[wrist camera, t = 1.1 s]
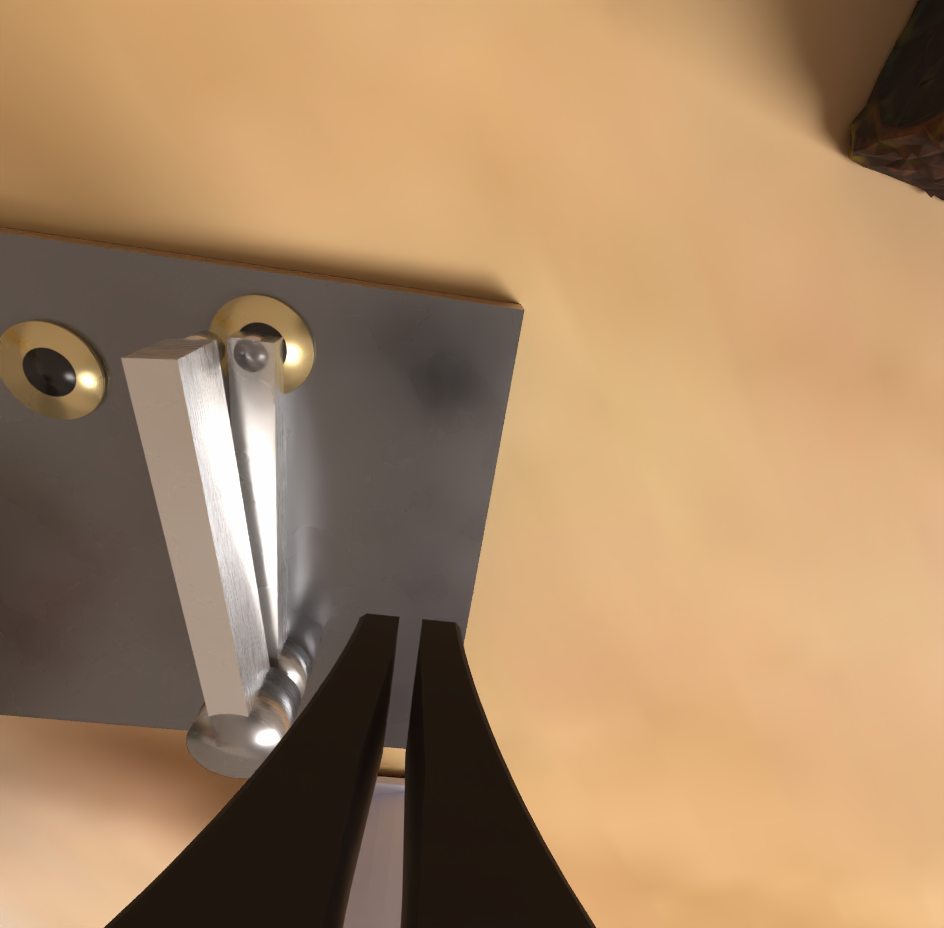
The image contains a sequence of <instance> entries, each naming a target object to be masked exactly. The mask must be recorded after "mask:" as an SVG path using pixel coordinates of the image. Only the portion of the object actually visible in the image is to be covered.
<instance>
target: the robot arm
mask: <svg viewBox="0 0 944 928" xmlns="http://www.w3.org/2000/svg"><path fill="white" fill-rule="evenodd" d="M399 618H400V617H398V616H388V615H378V614H369V613H366V614H365V615H363V616H362V617H360V619H359V621H358V623H357V625H356V628H355V630H354V632H353V633H352V635H351V637H350V639H349V641H348V643H347V645H346V646H345V648H344V650H343V651H342V653H341V655H340V656H339V658H338V660H337V661H336V663H335V664H334V666H333V668H332V669H331V671H330V672H329V674H328V675H327V677H326V678H325V680H324V681H323V683H322V684H321V686H320V687H319V688H318V690H317V691H316V693H315V694H314V696H313V697H312V699H311V700H310V702H309V703H308V704H307V706H306V707H305V709H304V710H303V711H302V713H301V714H300V715H299V717H298V718H297V719H296V721H295V722H294V723H293V724H292V726H291V727H290V728H289V730H288V731H287V732H286V734H285V735H284V736H283V737H282V739H281V740H280V741H279V743H278V744H277V745H276V747H275V748H274V749H273V750H272V752H271V753H270V754H269V755H268V757H267V758H266V759H265V760H264V762H263V763H262V764H261V765H260V766H259V768H258V769H257V770H256V771H255V772H254V774H253V775H252V776H251V777H250V778H249V779H248V781H247V782H246V783H245V784H244V785H243V786H242V788H241V789H240V790H239V791H238V792H237V793H236V794H235V795H234V797H233V798H232V799H231V800H230V801H229V802H228V803H227V804H226V806H225V807H224V808H223V809H222V810H221V811H220V812H219V813H218V814H217V816H216V817H215V818H214V819H213V820H212V821H211V822H210V823H209V824H208V825H207V826H206V827H205V828H204V829H203V830H202V831H201V832H200V833H199V835H198V836H197V837H196V838H195V839H194V840H193V841H192V842H191V843H190V844H189V845H188V846H187V847H186V848H185V849H184V850H183V851H182V852H181V853H180V854H179V856H178V857H177V858H176V859H175V860H174V861H173V862H172V863H171V864H170V865H169V866H168V867H167V868H166V869H165V870H164V871H163V872H162V873H161V874H160V875H159V876H158V877H157V878H156V879H155V880H154V881H153V882H152V883H151V884H150V885H149V886H148V887H147V888H146V889H145V890H144V891H142V892H141V893H140V894H139V895H138V896H137V897H136V898H135V899H134V900H133V901H132V902H131V903H130V904H129V905H128V906H127V907H125V908H124V909H123V910H122V911H121V912H120V913H119V914H118V915H117V916H116V917H115V918H114V919H113V920H112V921H111V922H109V923H108V924H107V925H106V926H105V927H104V928H596V927H595V925H594V924H593V922H592V920H591V919H590V917H589V916H588V914H587V912H586V911H585V909H584V908H583V906H582V904H581V903H580V901H579V900H578V898H577V897H576V895H575V893H574V892H573V890H572V889H571V887H570V885H569V884H568V882H567V880H566V879H565V877H564V875H563V873H562V872H561V870H560V868H559V866H558V865H557V863H556V861H555V859H554V858H553V856H552V854H551V852H550V850H549V849H548V847H547V845H546V843H545V842H544V840H543V838H542V836H541V834H540V832H539V830H538V828H537V827H536V825H535V823H534V821H533V819H532V817H531V815H530V813H529V811H528V809H527V807H526V805H525V803H524V801H523V799H522V797H521V795H520V793H519V791H518V789H517V787H516V785H515V783H514V781H513V779H512V777H511V774H510V772H509V770H508V768H507V765H506V763H505V761H504V759H503V756H502V754H501V752H500V750H499V747H498V745H497V743H496V740H495V738H494V735H493V733H492V731H491V728H490V725H489V723H488V720H487V717H486V715H485V712H484V709H483V707H482V704H481V702H480V699H479V696H478V693H477V690H476V687H475V684H474V681H473V678H472V675H471V672H470V668H469V665H468V661H467V658H466V654H465V650H464V646H463V641H462V636H461V630H460V627H459V626H458V625H457V624H456V623H455V622H447V621H437V620H427V619H422V626H421V634H420V641H419V648H418V656H417V663H416V671H415V678H414V685H413V693H412V701H411V710H410V718H409V727H408V736H407V745H406V754H405V778H395V777H382V776H377V775H378V771H379V767H380V762H381V758H382V754H383V747H384V740H385V734H386V727H387V719H388V712H389V705H390V698H391V690H392V681H393V672H394V663H395V654H396V645H397V636H398V627H399Z"/></svg>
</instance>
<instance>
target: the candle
mask: <svg viewBox="0 0 944 928" xmlns="http://www.w3.org/2000/svg"><path fill="white" fill-rule="evenodd" d="M849 128H850V129H851V140H850V153H849V159H851V160H853V161H854V162H856V163H858V164H860V165H861V166H863V167H866V168H869V169H872V170H875V171H878V172H881V173H883V174H886V175H889V176H891V177H894V178H896V179H898V180H901V181H903V182H906V183H908V184H911V185H914V186H917V187H920V188H923V189H924V190H925V191H926V193H927V194H928V195H929V196H930V197H932V196H934V195H935V196H937V197H938V198H940V199H942V200H944V0H919V1H918V3H917V5H916V8H915V10H914V12H913V14H912V16H911V18H910V21H909V23H908V25H907V27H906V28H905V30H904V31H903V33H902V35H901V36H900V38H899V39H898V41H897V43H896V45H895V47H894V49H893V51H892V53H891V54H890V56H889V58H888V60H887V62H886V64H885V66H884V68H883V70H882V72H881V74H880V76H879V78H878V80H877V83H876V85H875V87H874V90H873V92H872V94H871V97H870V99H869V101H868V104H867V105H866V106H865V108H864V109H863V110H862V111H861V112H860V114H859V115H858V116H857V117H856V119H855V120H854V121H853V123H852V124H851V125H850V127H849Z"/></svg>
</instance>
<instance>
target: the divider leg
mask: <svg viewBox="0 0 944 928" xmlns="http://www.w3.org/2000/svg"><path fill="white" fill-rule="evenodd" d="M225 353H226V348H225V344H224V342H223V340H222V339H221V338H220V337H219V336H218V335H217V334H215V333H213V332H211V331H206V330H205V331H199V332H197V333H195V334H193V335H190V336H188V337H186V338H184V339H180V338H166V339H164V340H162V341H159V342H157V343H155V344H152V345H150V346H148V347H145V348H143V349H141V350H138V351H136V352H134V353H131V354H129V355H127V356H124V357H122V358H121V360H122V364H123V368H124V372H125V376H126V380H127V384H128V388H129V393H130V397H131V401H132V405H133V409H134V413H135V417H136V421H137V425H138V429H139V433H140V438H141V442H142V446H143V450H144V454H145V458H146V462H147V466H148V470H149V474H150V479H151V483H152V487H153V491H154V495H155V499H156V503H157V507H158V511H159V515H160V520H161V524H162V528H163V532H164V536H165V540H166V544H167V548H168V552H169V556H170V560H171V565H172V569H173V573H174V577H175V581H176V585H177V589H178V593H179V597H180V601H181V606H182V610H183V614H184V618H185V622H186V626H187V630H188V634H189V638H190V642H191V647H192V651H193V655H194V659H195V663H196V667H197V671H198V675H199V679H200V683H201V687H202V692H203V696H204V700H205V701H204V703H203V705H202V707H201V709H200V711H199V712H198V714H197V716H196V718H195V720H194V722H193V724H192V726H191V728H190V729H189V732H188V734H187V738H186V744H187V748H188V751H189V752H190V754H191V756H192V757H193V758H194V759H195V760H196V761H197V762H198V763H199V764H200V765H201V766H203V767H205V768H206V769H208V770H210V771H212V772H214V773H217V774H219V775H223V776H227V777H232V778H250V777H251V776H252V775H253V774H254V772H255V771H256V770H257V769H258V768H259V766H260V765H261V764H262V763H263V762H264V760H265V759H266V758H267V757H268V755H269V754H270V753H271V752H272V750H273V749H274V748H275V747H276V745H277V744H278V743H279V741H280V740H281V739H282V737H283V736H284V735H285V734H286V732H287V731H288V730H289V728H290V727H291V726H292V724H293V723H294V722H295V719H296V716H297V713H298V710H299V707H300V703H301V695H300V691H299V689H298V687H297V685H296V684H295V682H294V681H293V680H292V679H291V678H290V677H289V676H287V675H286V674H285V673H283V672H281V671H280V670H278V669H275V668H273V667H270V663H269V657H268V651H267V645H266V639H265V633H264V627H263V621H262V615H261V609H260V603H259V596H258V590H257V584H256V578H255V572H254V566H253V560H252V554H251V548H250V542H249V536H248V530H247V524H246V518H245V511H244V505H243V499H242V493H241V487H240V481H239V475H238V469H237V463H236V457H235V451H234V445H233V439H232V433H231V426H230V420H229V414H228V408H227V402H226V396H225V390H224V384H223V378H222V372H221V366H220V361H222V360H223V358H224V357H225Z"/></svg>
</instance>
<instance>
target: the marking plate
mask: <svg viewBox="0 0 944 928" xmlns="http://www.w3.org/2000/svg"><path fill="white" fill-rule="evenodd" d="M523 314H524V309H523V307H522V305H521V304H516V303H509V302H502V301H496V300H489V299H482V298H476V297H469V296H462V295H455V294H449V293H442V292H435V291H428V290H422V289H415V288H408V287H401V286H395V285H388V284H381V283H374V282H368V281H361V280H354V279H348V278H341V277H334V276H327V275H321V274H314V273H307V272H300V271H294V270H287V269H280V268H273V267H267V266H260V265H253V264H246V263H240V262H233V261H226V260H220V259H213V258H206V257H199V256H193V255H186V254H179V253H172V252H166V251H159V250H152V249H145V248H139V247H132V246H125V245H118V244H112V243H105V242H98V241H92V240H85V239H78V238H71V237H65V236H58V235H51V234H44V233H38V232H31V231H24V230H17V229H11V228H4V227H0V715H10V716H22V717H34V718H46V719H58V720H70V721H82V722H94V723H106V724H117V725H129V726H141V727H153V728H165V729H177V730H189V729H190V728H191V726H192V724H193V722H194V720H195V718H196V716H197V714H198V712H199V711H200V709H201V707H202V705H203V703H204V701H205V700H204V696H203V692H202V687H201V683H200V679H199V675H198V671H197V667H196V663H195V659H194V655H193V651H192V647H191V642H190V638H189V634H188V630H187V626H186V622H185V618H184V614H183V610H182V606H181V601H180V597H179V593H178V589H177V585H176V581H175V577H174V573H173V569H172V565H171V560H170V556H169V552H168V548H167V544H166V540H165V536H164V532H163V528H162V524H161V520H160V515H159V511H158V507H157V503H156V499H155V495H154V491H153V487H152V483H151V479H150V474H149V470H148V466H147V462H146V458H145V454H144V450H143V446H142V442H141V438H140V433H139V429H138V425H137V421H136V417H135V413H134V409H133V405H132V401H131V397H130V393H129V388H128V384H127V380H126V376H125V372H124V368H123V364H122V360H121V358H122V357H124V356H127V355H129V354H131V353H134V352H136V351H138V350H141V349H143V348H145V347H148V346H150V345H152V344H155V343H157V342H159V341H162V340H164V339H166V338H180V339H184V338H186V337H188V336H190V335H193V334H195V333H197V332H199V331H205V330H206V331H211V332H213V333H215V334H217V335H218V336H219V337H220V338H221V339H222V340H223V342H224V344H225V348H226V353H225V357H224V358H223V360H222V361H220V366H221V372H222V378H223V384H224V390H225V396H226V402H227V408H228V414H229V420H230V426H231V433H232V439H233V445H234V451H235V457H236V463H237V469H238V475H239V481H240V487H241V493H242V499H243V505H244V511H245V518H246V524H247V530H248V536H249V542H250V548H251V554H252V560H253V566H254V572H255V578H256V584H257V590H258V596H259V603H260V609H261V615H262V621H263V627H264V633H265V639H266V645H267V651H268V657H269V663H270V667H273V668H275V669H278V670H280V671H281V672H283V673H285V674H286V675H287V676H289V677H290V678H291V679H292V680H293V681H294V682H295V684H296V685H297V687H298V689H299V691H300V695H301V703H300V707H299V710H298V713H297V716H296V719H297V718H298V717H299V715H300V714H301V713H302V711H303V710H304V709H305V707H306V706H307V704H308V703H309V702H310V700H311V699H312V697H313V696H314V694H315V693H316V691H317V690H318V688H319V687H320V686H321V684H322V683H323V681H324V680H325V678H326V677H327V675H328V674H329V672H330V671H331V669H332V668H333V666H334V664H335V663H336V661H337V660H338V658H339V656H340V655H341V653H342V651H343V650H344V648H345V646H346V645H347V643H348V641H349V639H350V637H351V635H352V633H353V632H354V630H355V628H356V625H357V623H358V621H359V619H360V617H362V616H363V615H365V614H366V613H369V614H378V615H388V616H398V617H400V618H399V627H398V636H397V645H396V654H395V663H394V672H393V681H392V690H391V698H390V705H389V712H388V719H387V727H386V734H385V740H384V747H391V748H403V749H406V745H407V736H408V727H409V718H410V710H411V701H412V693H413V685H414V678H415V671H416V663H417V656H418V648H419V641H420V634H421V626H422V619H427V620H437V621H447V622H455V623H456V624H457V625H458V626H459V627H460V630H461V636H462V641H463V645H464V639H465V634H466V628H467V623H468V617H469V612H470V606H471V601H472V595H473V590H474V584H475V579H476V573H477V568H478V562H479V557H480V551H481V546H482V540H483V535H484V529H485V524H486V518H487V512H488V507H489V501H490V496H491V490H492V485H493V479H494V474H495V468H496V463H497V457H498V452H499V446H500V441H501V435H502V430H503V424H504V419H505V413H506V408H507V402H508V397H509V391H510V386H511V380H512V375H513V369H514V364H515V358H516V353H517V347H518V342H519V336H520V331H521V325H522V320H523ZM296 719H295V721H296Z"/></svg>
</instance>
